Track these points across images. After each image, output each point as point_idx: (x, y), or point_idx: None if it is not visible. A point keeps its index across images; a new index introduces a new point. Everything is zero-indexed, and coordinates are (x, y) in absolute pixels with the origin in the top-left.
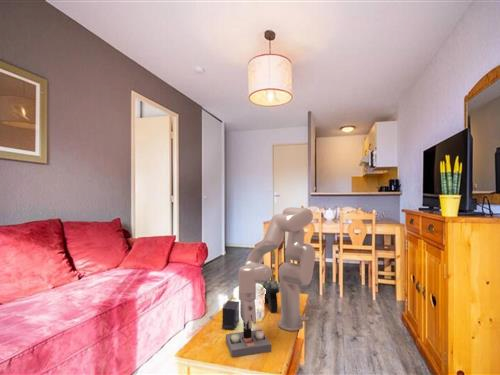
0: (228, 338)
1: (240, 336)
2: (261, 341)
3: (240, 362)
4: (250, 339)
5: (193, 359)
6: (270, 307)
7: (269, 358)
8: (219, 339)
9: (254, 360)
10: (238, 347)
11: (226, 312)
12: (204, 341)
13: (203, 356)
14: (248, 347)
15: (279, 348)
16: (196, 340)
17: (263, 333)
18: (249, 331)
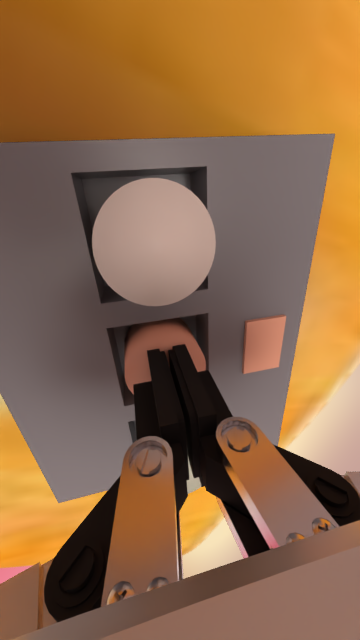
0: None
1: (107, 414)
2: (243, 238)
3: (307, 375)
4: (198, 346)
5: (216, 521)
6: None
7: (354, 201)
8: (46, 484)
9: (325, 306)
10: (265, 418)
11: None
12: (70, 531)
13: (206, 503)
14: (290, 361)
15: (267, 17)
16: None
17: (185, 187)
18: (226, 411)
